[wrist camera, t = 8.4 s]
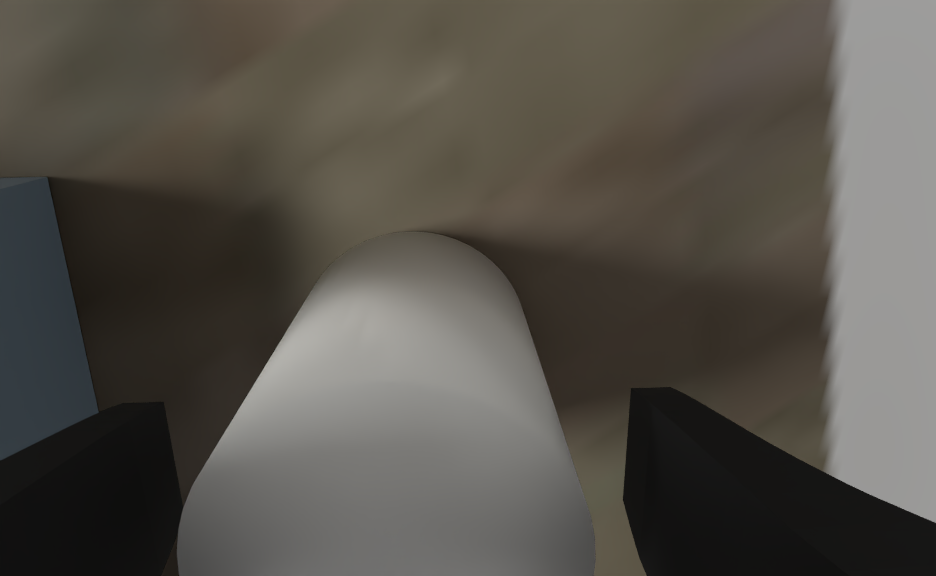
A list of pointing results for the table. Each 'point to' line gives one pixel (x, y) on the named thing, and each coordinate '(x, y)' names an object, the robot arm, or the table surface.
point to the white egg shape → (395, 434)
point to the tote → (37, 323)
